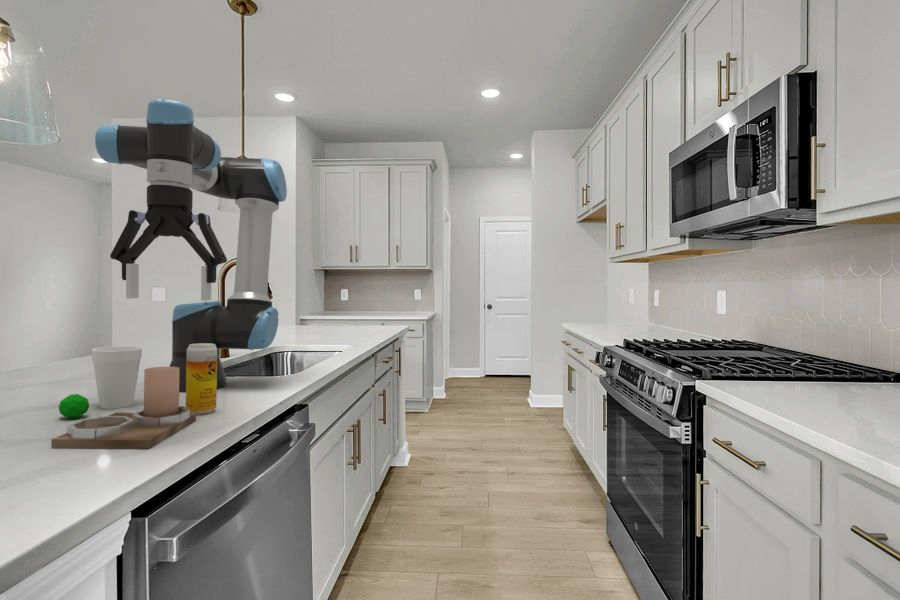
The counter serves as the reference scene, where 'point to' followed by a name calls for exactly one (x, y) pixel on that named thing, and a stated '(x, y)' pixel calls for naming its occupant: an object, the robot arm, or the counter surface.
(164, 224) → the robot arm
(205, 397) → the beer can
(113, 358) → the foam cup
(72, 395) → the polyhedron
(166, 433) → the pin board
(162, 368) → the pin
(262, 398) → the counter surface
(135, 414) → the socket collars
